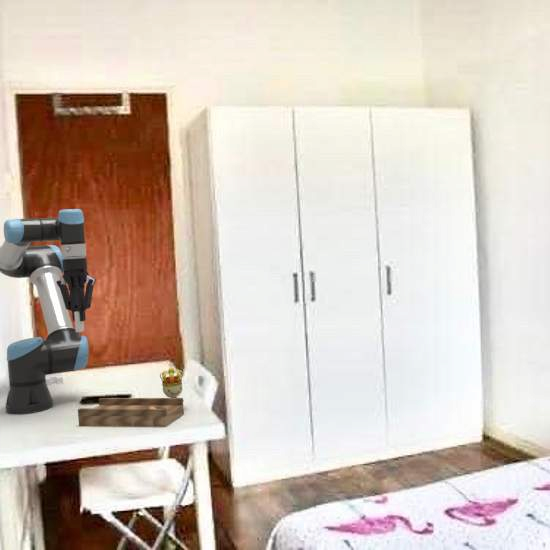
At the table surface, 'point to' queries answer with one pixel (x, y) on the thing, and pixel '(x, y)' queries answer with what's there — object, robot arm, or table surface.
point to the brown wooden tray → (132, 412)
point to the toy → (172, 383)
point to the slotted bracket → (54, 378)
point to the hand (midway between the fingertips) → (80, 331)
